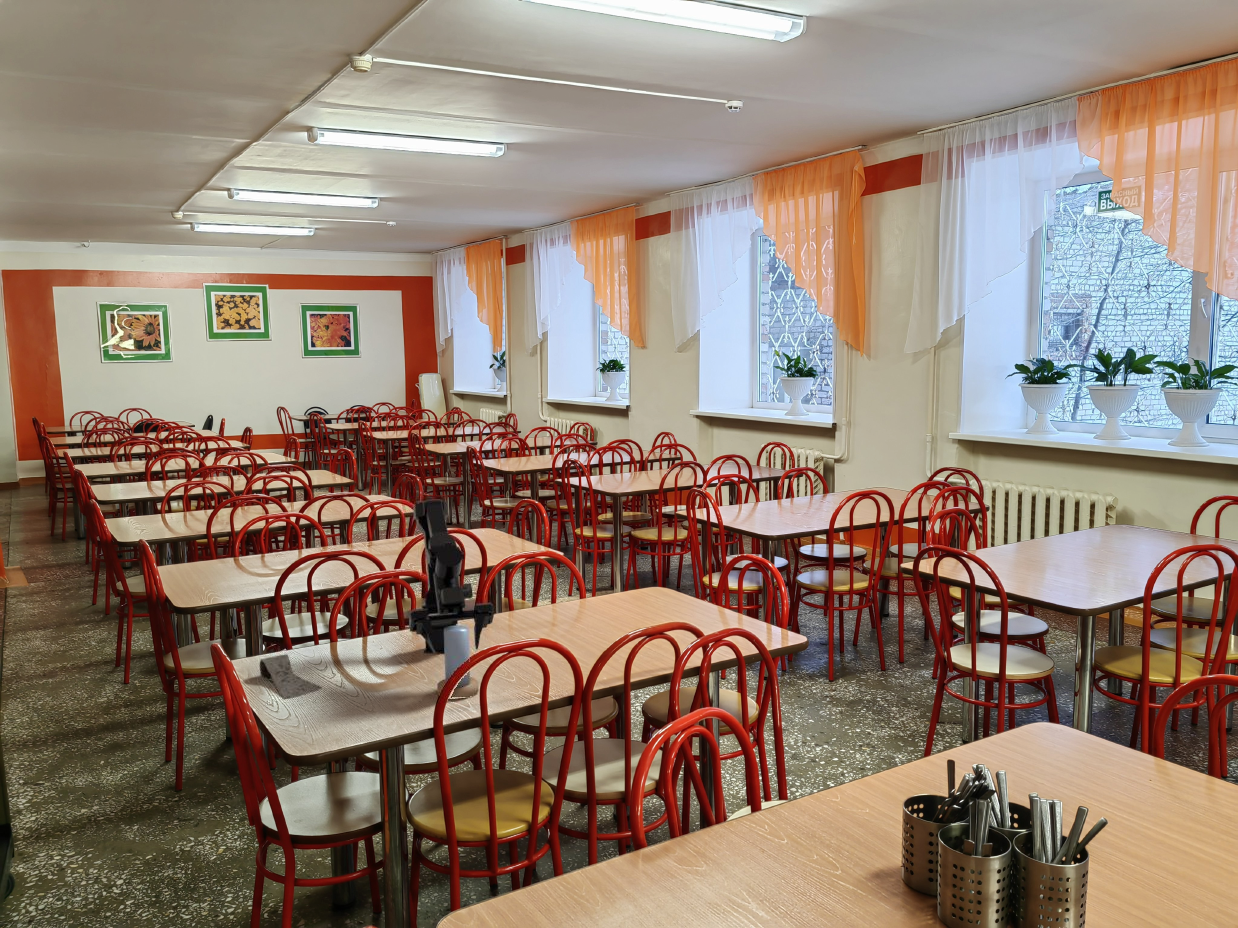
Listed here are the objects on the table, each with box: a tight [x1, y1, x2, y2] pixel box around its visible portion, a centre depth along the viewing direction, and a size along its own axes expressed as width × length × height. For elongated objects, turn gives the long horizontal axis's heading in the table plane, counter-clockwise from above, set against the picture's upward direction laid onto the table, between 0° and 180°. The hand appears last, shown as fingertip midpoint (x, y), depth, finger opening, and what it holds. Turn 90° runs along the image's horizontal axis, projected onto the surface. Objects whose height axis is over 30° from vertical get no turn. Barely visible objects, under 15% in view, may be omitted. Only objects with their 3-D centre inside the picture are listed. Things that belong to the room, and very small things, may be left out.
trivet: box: [436, 676, 479, 698], centre depth 209 cm, size 9×9×2 cm
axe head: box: [259, 653, 323, 700], centre depth 215 cm, size 21×5×10 cm
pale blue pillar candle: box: [444, 624, 471, 688], centre depth 208 cm, size 5×5×12 cm
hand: (456, 650), depth 208 cm, fingers open, 9 cm apart
